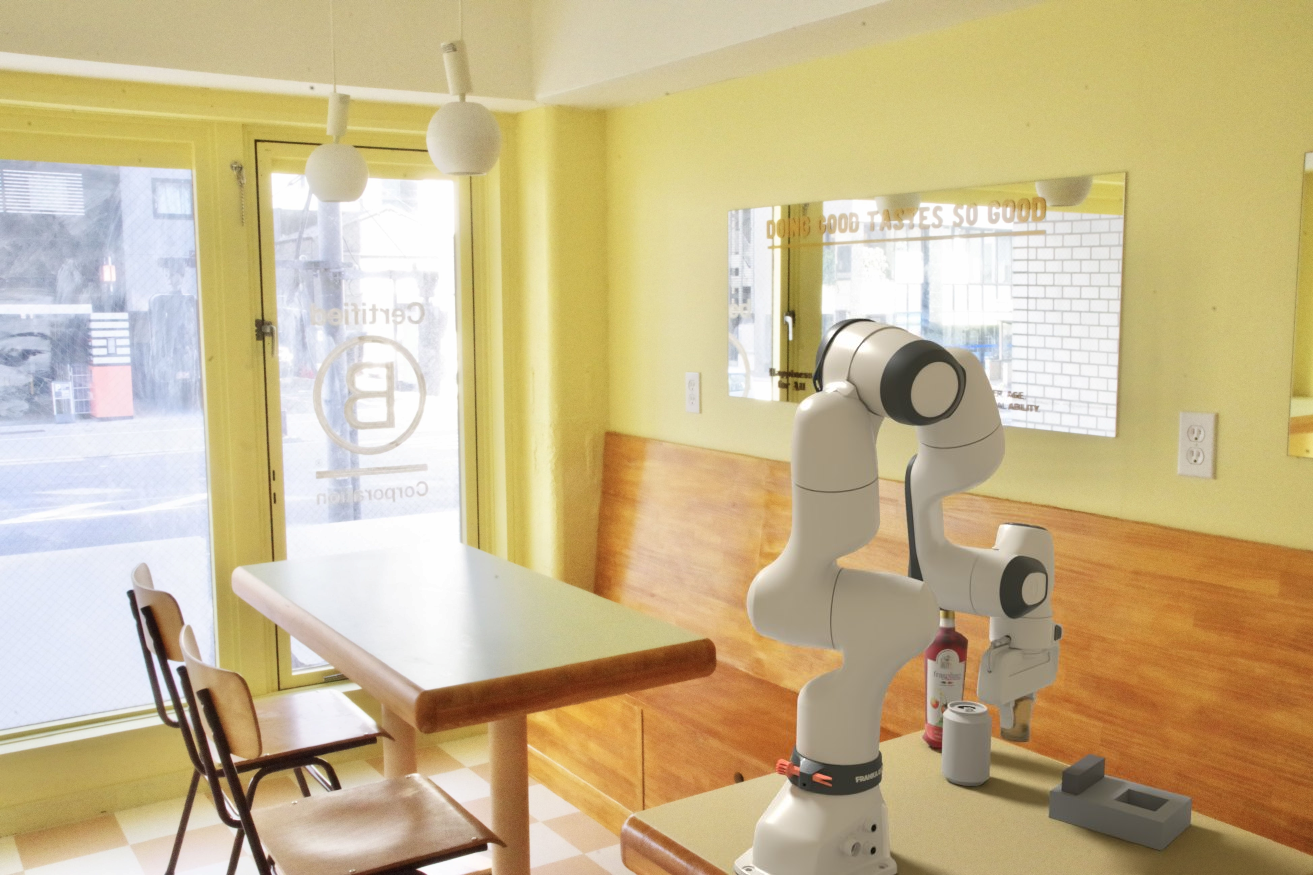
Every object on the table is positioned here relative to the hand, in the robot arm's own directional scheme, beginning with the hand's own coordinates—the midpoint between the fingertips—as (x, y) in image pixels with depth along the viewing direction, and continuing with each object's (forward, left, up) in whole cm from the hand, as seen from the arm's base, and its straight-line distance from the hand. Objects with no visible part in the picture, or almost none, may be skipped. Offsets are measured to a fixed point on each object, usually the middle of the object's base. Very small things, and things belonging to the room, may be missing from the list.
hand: (1015, 723), depth 169 cm
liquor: (+17, +21, -13) cm, 30 cm away
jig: (+7, -13, -13) cm, 20 cm away
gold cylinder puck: (0, 0, -2) cm, 2 cm away
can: (+6, +11, -13) cm, 18 cm away
